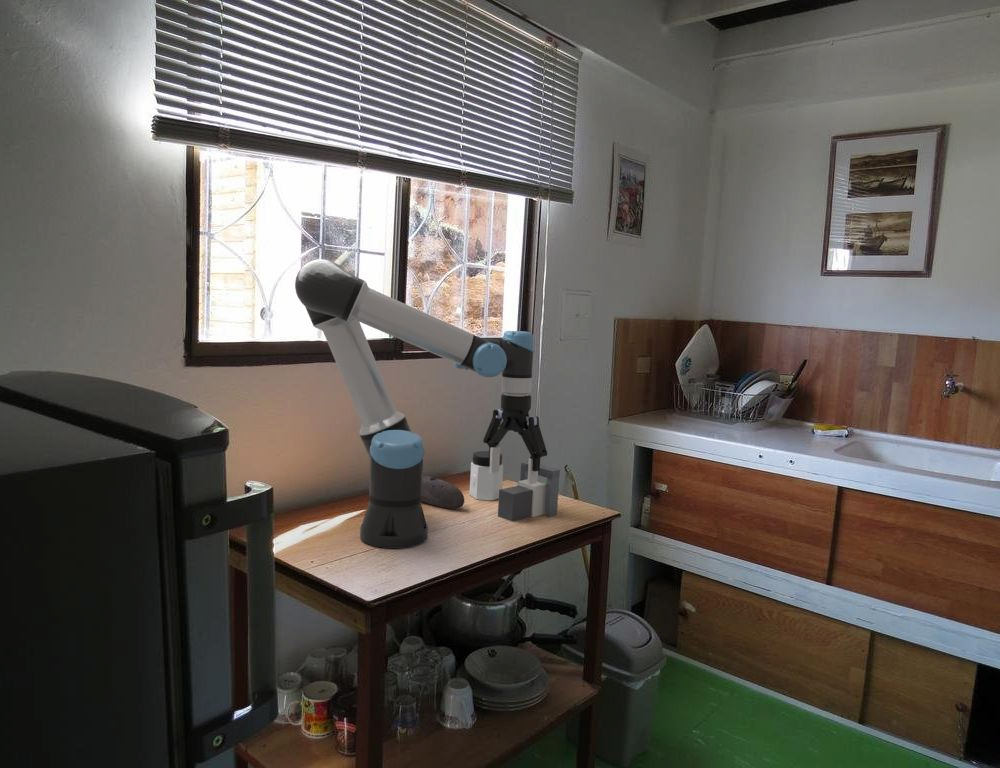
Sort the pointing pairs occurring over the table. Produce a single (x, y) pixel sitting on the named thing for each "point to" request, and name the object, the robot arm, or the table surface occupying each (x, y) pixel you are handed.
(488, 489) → the jar
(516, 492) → the plug
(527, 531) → the table surface
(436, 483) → the perforated stone tool
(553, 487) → the frame
